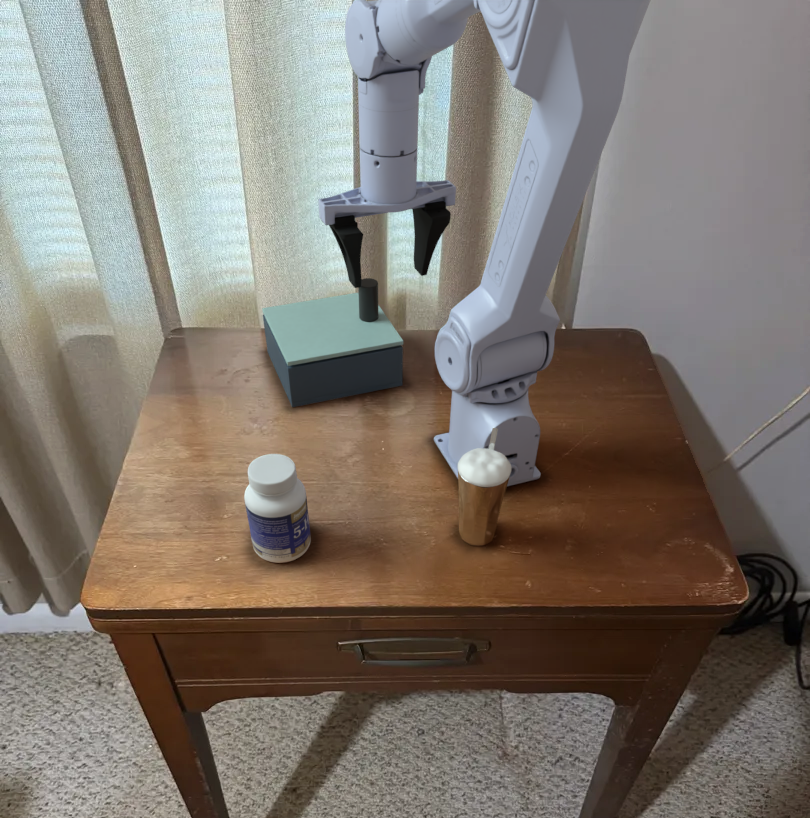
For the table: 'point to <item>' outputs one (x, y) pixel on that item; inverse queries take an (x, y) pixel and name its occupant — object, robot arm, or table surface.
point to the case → (336, 373)
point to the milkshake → (481, 492)
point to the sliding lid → (332, 326)
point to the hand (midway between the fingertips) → (388, 277)
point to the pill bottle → (277, 509)
